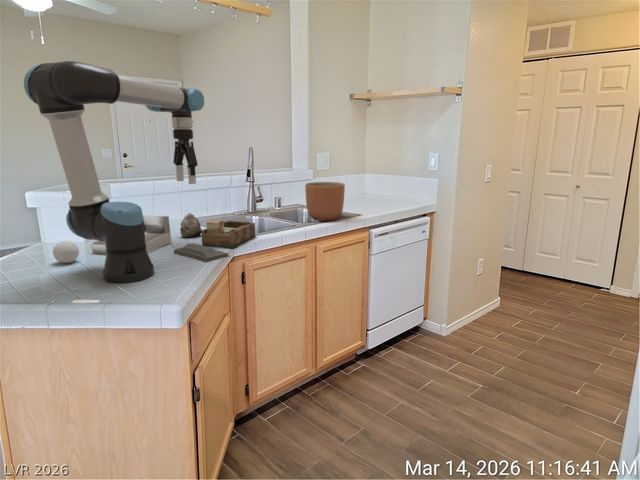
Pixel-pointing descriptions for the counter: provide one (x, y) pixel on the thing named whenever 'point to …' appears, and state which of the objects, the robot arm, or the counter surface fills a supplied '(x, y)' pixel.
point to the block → (215, 227)
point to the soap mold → (200, 252)
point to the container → (146, 234)
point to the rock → (190, 226)
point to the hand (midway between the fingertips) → (186, 182)
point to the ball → (66, 251)
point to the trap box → (230, 235)
